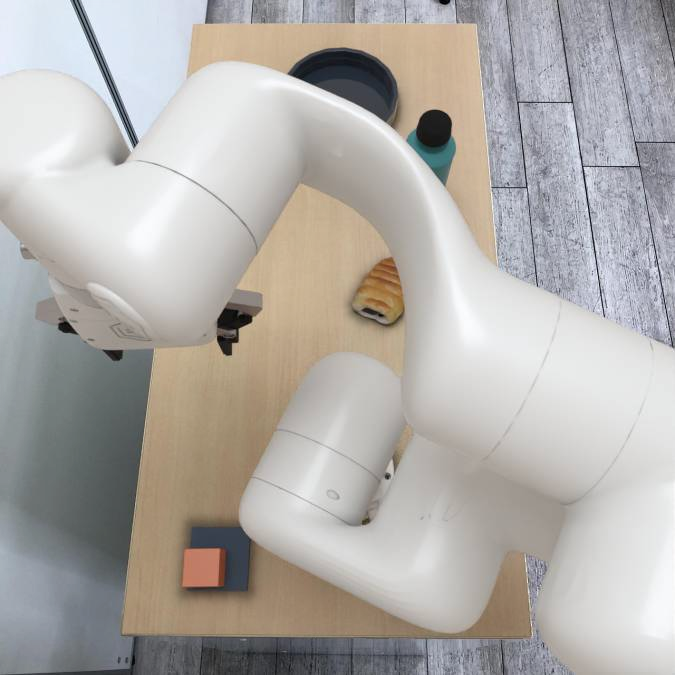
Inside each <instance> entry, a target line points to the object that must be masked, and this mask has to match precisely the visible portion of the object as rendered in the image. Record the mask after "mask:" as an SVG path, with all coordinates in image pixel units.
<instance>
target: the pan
mask: <svg viewBox="0 0 675 675" xmlns="http://www.w3.org/2000/svg"><path fill="white" fill-rule="evenodd" d="M286 74H287V75H290V76H292V77H295V78H297V79H300V80H302V81H304V82H307V83H309V84H311V85H314V86H316V87H318V88H321V89H323V90H325V91H327V92H330V93H332V94H334V95H337V96H339V97H341V98H344V99H346V100H348V101H350V102H352V103H354V104H356V105H358V106H360V107H362V108H364V109H366V110H367V111H369V112H371V113H373V114H374V115H376V116H377V117H378V118H380V119H381V120H383V121H384V122H385V123H387V124H388V125H389V126H391V127H392V126H393V125H394V122H395V118H396V114H397V110H398V103H399V88H398V83H397V80H396V78H395V75H394V74H393V73H392V71H391V69H390V68H389V67H388V65H386V64H385V63H384V62H382V61H381V60H380V58H378V57H377V56H375V55H372V54H370V53H368V52H366V51H364V50H361V49H358V48H357V49H356V48H350V47H344V46H343V47H327V48H323V49H321V50H316V51H314V52H310V53H308V54H307V55H306V56H304V57H303V58H301V59H300V60H298V61H296V62H295V63H294V65H293V66H292V67H291V68H290V69H289V71H288V72H287V73H286Z"/></svg>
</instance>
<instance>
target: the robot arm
mask: <svg viewBox="0 0 675 675" xmlns="http://www.w3.org/2000/svg"><path fill="white" fill-rule="evenodd" d="M300 184H301V185H304V186H307V187H308V188H310V189H314V190H316V191H318V192H321V193H323V194H325V195H327V196H329V197H331V198H333V199H335V200H337V201H339V202H341V203H342V204H343V205H345V206H347V207H349V208H351V209H352V210H353V211H355V212H356V213H357V214H359V215H360V216H361V217H362V218H364V219H365V220H366V221H367V222H368V223H369V224H370V225H371V226H372V228H374V230H375V231H376V232H377V233H378V235H379V236H380V237H381V239H382V241H383V242H384V244H385V245H386V247H387V248H388V250H389V253H390V255H391V257H392V258H393V260H394V262H395V265H396V267H397V271H398V274H399V278H400V282H401V285H402V293H403V300H404V340H403V353H402V354H403V356H402V368H401V378H400V376H399V375H398V374H397V373H396V372H395V370H393V369H392V368H391V367H390V366H389V365H388V364H386V363H385V362H383V361H381V360H380V359H378V358H376V357H374V356H372V355H369V354H367V353H363V352H360V351H359V352H358V351H351V350H343V351H336V352H332V353H329V354H327V355H325V356H323V357H321V358H320V359H319V360H317V361H316V362H315V363H314V364H313V365H312V366H311V367H310V368H309V369H308V370H307V372H306V373H305V375H304V377H303V378H302V379H301V381H300V383H299V384H298V387H297V388H296V390H295V392H294V393H293V395H292V397H291V399H290V400H289V403H288V405H287V407H286V408H285V410H284V412H283V414H282V416H281V418H280V420H279V422H278V424H277V426H276V428H275V429H274V433H273V435H272V436H271V439H270V441H269V443H268V444H267V446H266V448H265V450H264V452H263V454H262V456H261V457H260V460H259V462H258V464H257V465H256V467H255V469H254V471H253V473H252V475H251V476H250V479H249V481H248V483H247V484H246V487H245V489H244V492H243V493H242V496H241V498H240V502H239V506H238V512H237V513H238V521H239V525H240V527H242V528H243V530H244V532H245V533H246V534H247V535H248V536H249V537H250V540H252V541H253V542H254V543H255V544H257V545H258V546H260V547H261V548H263V549H264V550H265V551H267V552H269V553H271V554H272V555H275V556H276V557H278V558H280V559H282V560H283V561H286V562H287V563H289V564H291V565H293V566H295V567H298V568H299V569H301V570H303V571H305V572H308V573H309V574H311V575H313V576H315V577H317V578H318V579H321V580H322V581H324V582H326V583H328V584H330V585H333V586H335V587H336V588H338V589H340V590H342V591H344V592H346V593H348V594H350V595H352V596H354V597H356V598H358V599H360V600H362V601H363V602H366V603H368V604H370V605H372V606H374V607H375V608H376V609H377V608H378V609H379V610H381V611H383V612H385V613H387V614H389V615H392V616H393V617H395V618H398V619H400V620H402V621H404V622H407V623H409V624H411V625H414V626H416V627H419V628H422V629H425V630H428V631H432V632H436V633H443V634H457V633H462V632H465V631H467V630H469V629H470V628H472V627H473V626H474V625H476V624H477V622H478V621H479V620H480V619H481V617H482V615H483V614H484V612H485V610H486V608H487V607H488V604H489V602H490V599H491V597H492V594H493V591H494V589H495V586H496V584H497V581H498V578H499V575H500V572H501V570H502V567H503V565H504V562H505V559H506V557H507V555H508V554H509V553H519V554H523V555H525V556H528V557H531V558H533V559H535V560H538V561H540V562H542V563H545V564H548V565H547V568H546V571H545V574H544V577H543V581H542V583H541V585H540V590H539V592H538V594H537V599H536V602H535V609H534V622H535V626H536V630H537V633H538V634H539V637H540V638H541V640H542V641H543V643H544V644H545V646H546V647H547V649H548V651H549V652H550V653H551V654H552V655H553V656H554V657H555V658H556V659H557V661H559V662H560V663H561V664H563V665H564V666H565V667H566V668H568V669H569V670H570V671H571V672H572V673H573V674H574V675H675V348H674V347H671V346H669V345H667V344H666V343H665V344H664V343H663V342H660V341H658V340H656V339H654V338H652V337H649V336H647V335H645V334H642V333H640V332H638V331H636V330H633V329H631V328H629V327H628V326H624V325H623V324H620V323H618V322H616V321H614V320H612V319H610V318H607V317H604V316H602V315H601V314H598V313H596V312H594V311H591V310H589V309H588V308H586V307H583V306H581V305H579V304H577V303H574V302H572V301H569V300H568V299H565V298H563V297H560V296H559V295H557V294H555V293H553V292H550V291H548V290H545V289H543V288H541V287H539V286H536V285H534V284H532V283H529V282H527V281H525V280H522V279H520V278H518V277H516V276H514V275H512V274H510V273H508V272H506V271H505V270H503V269H502V268H500V267H499V266H498V265H496V264H495V263H494V262H492V260H490V259H489V258H488V256H486V254H485V252H484V251H483V250H482V249H481V247H480V246H479V244H478V242H477V240H476V239H475V237H474V235H473V233H472V231H471V229H470V227H469V225H468V224H467V222H466V219H465V218H464V216H463V214H462V212H461V210H460V209H459V206H458V205H457V203H456V202H455V200H454V198H453V197H452V195H451V194H450V191H448V190H447V187H446V186H445V187H444V185H443V184H442V183H441V181H440V180H439V179H438V178H437V176H436V175H435V174H434V173H433V171H432V170H431V168H430V167H429V166H428V165H427V164H426V163H425V162H424V161H423V159H422V158H421V157H420V156H419V155H418V154H417V153H416V151H415V150H414V149H413V148H412V147H411V146H410V145H409V144H408V143H407V142H406V139H405V138H403V136H401V134H399V132H397V130H395V129H394V128H393V127H392V126H389V125H388V124H387V123H385V122H384V121H383V120H381V119H380V118H378V117H377V116H376V115H374V114H373V113H371V112H369V111H367V110H366V109H364V108H362V107H360V106H358V105H356V104H354V103H352V102H350V101H348V100H346V99H344V98H341V97H339V96H337V95H334V94H332V93H330V92H327V91H325V90H323V89H321V88H318V87H316V86H314V85H311V84H309V83H307V82H304V81H302V80H300V79H297V78H295V77H292V76H290V75H287V73H284V72H282V71H279V70H277V69H274V68H271V67H267V66H265V65H261V64H256V63H252V62H247V61H242V60H224V61H216V62H213V63H209V64H207V65H203V67H200V68H199V69H198V70H196V71H195V72H193V73H192V74H190V75H189V76H188V77H187V78H186V79H185V80H184V81H183V83H182V84H181V85H180V86H179V87H178V89H177V90H176V92H175V93H173V95H172V97H171V98H169V101H168V102H166V104H165V106H164V107H163V109H162V110H161V111H160V113H159V114H158V115H157V117H156V118H155V119H154V121H153V122H152V123H151V124H150V125H149V128H148V129H147V130H146V132H145V133H144V134H143V136H142V137H141V139H139V141H138V143H137V144H136V145H135V146H134V148H133V150H132V151H131V149H130V147H129V144H128V143H127V141H126V139H125V137H124V135H123V132H122V130H121V128H120V127H119V124H118V122H117V120H116V119H115V116H114V114H113V112H112V110H111V108H110V107H109V105H108V104H107V102H106V101H105V100H104V99H103V98H102V96H101V95H100V94H99V93H98V92H97V91H96V90H95V89H93V87H91V86H90V85H89V84H88V83H86V82H85V81H82V79H79V78H78V77H76V76H73V75H71V74H68V73H65V72H62V71H59V70H53V69H47V68H31V69H23V70H22V69H21V70H17V71H12V72H9V73H6V74H4V75H1V76H0V222H1V223H2V224H3V225H4V226H5V227H6V228H7V230H9V232H10V233H11V234H12V235H13V236H14V237H15V238H16V239H17V241H19V242H20V244H19V249H20V255H21V256H22V259H24V260H34V261H36V262H38V263H40V264H41V265H42V267H43V268H44V269H45V270H46V271H47V274H48V275H47V280H48V284H49V288H50V291H51V292H52V295H53V296H52V297H50V298H47V299H43V300H40V301H37V302H36V306H35V312H34V313H35V314H34V319H35V320H37V321H40V322H42V323H45V324H48V325H50V326H53V327H54V326H57V329H58V331H60V332H61V333H63V334H72V335H76V336H80V338H82V339H83V343H86V344H88V345H90V346H91V347H93V348H95V349H97V350H98V349H99V350H101V351H102V352H103V353H104V354H106V356H108V357H109V359H110V360H112V362H119V361H121V360H123V356H124V351H127V350H128V351H129V350H153V349H155V350H156V349H173V348H190V347H200V346H205V345H208V344H210V343H212V342H213V341H214V340H216V342H217V344H218V347H219V348H220V350H221V352H222V355H225V356H226V357H231V356H233V344H239V343H240V329H241V328H245V327H246V326H249V325H250V324H252V323H253V318H256V317H257V316H258V315H259V314H260V313H261V312H262V310H263V294H262V293H261V292H257V291H251V290H246V289H239V288H238V286H239V284H240V283H241V281H242V280H243V277H244V275H245V274H246V272H247V271H248V270H249V267H250V266H251V264H252V262H253V261H254V260H255V258H256V257H257V256H258V254H259V252H260V250H261V249H262V247H263V245H264V244H265V242H266V240H267V238H269V235H270V234H271V232H272V230H273V229H274V227H275V225H276V223H277V222H278V221H279V218H280V217H281V216H282V214H283V212H284V210H285V209H286V207H287V205H288V203H289V202H290V200H291V199H292V197H293V195H294V193H295V192H296V191H297V189H298V187H299V186H300ZM407 426H409V428H411V429H412V431H414V432H413V434H412V435H411V438H410V439H409V441H408V443H407V445H406V448H405V450H404V452H403V454H402V456H401V457H400V460H399V462H398V464H397V466H396V469H395V466H394V465H395V464H394V459H393V457H394V454H395V452H396V451H397V448H398V446H399V444H400V441H401V439H402V438H403V436H404V433H405V431H406V429H407ZM386 476H387V477H388V478H386ZM368 518H369V523H366V524H363V521H365V520H366V519H368Z"/></svg>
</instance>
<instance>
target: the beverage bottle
mask: <svg viewBox="0 0 675 675" xmlns="http://www.w3.org/2000/svg"><path fill="white" fill-rule="evenodd" d="M452 128H453V121H452V118H451V116H450V115H449V114H448V113H447V112H445V111H443V110H441V109H437V108H435V109H429V110H426V111H425V112H423V113H422V114H421V115H420V117H419V120H418V123H417V124H416V128H415V129H413V130H412V131H411V132H410V133H408V135H407V137H406V139H405V141H406V142H407V143H408V144H409V145H410V146H411V147H412V148H413V149H414V150H415V151H416V153H417V154H418V155H419V156H420V157H421V158H422V159H423V161H424V162H425V163H426V164H427V165H428V166H429V167H430V168H431V170H432V171H433V173H434V174H435V175H436V176H437V178H438V179H439V180H440V181H441V183H442V184H443V185H444V187H445V188H446V187H447V183H448V178H449V175H450V172H451V167H452V165H453V164H452V163H453V161H454V157H455V155H456V152H457V144H456V143H457V142H456V141H455V138H454V136H453V135H452V132H453V131H452V130H453V129H452Z"/></svg>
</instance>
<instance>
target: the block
mask: <svg viewBox="0 0 675 675" xmlns="http://www.w3.org/2000/svg"><path fill="white" fill-rule="evenodd" d="M225 561H226V550H225V549H221V548H204V549H190V548H184V552H183V565H182V581H181V582H182V583H181V587H182V588H187V587H219V586H224V583H225Z"/></svg>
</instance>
